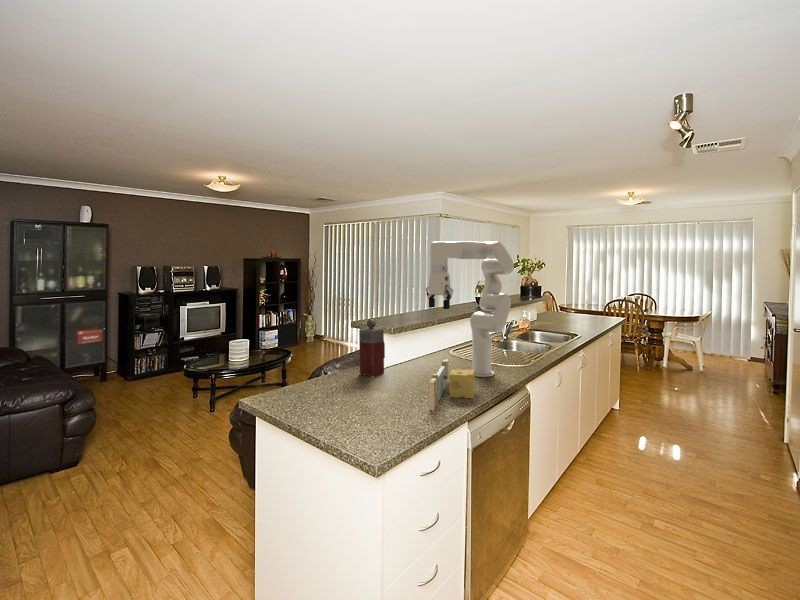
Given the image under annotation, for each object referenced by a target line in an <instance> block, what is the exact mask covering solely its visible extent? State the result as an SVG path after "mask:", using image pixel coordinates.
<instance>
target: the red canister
mask: <svg viewBox="0 0 800 600" xmlns="http://www.w3.org/2000/svg"><path fill="white" fill-rule="evenodd" d="M376 325H377V322H376V321H375V319H373V318H372V319H368V320H367V321H366V326H367V327H364V328H360V329H359V330H358V331H359V334H358V338H359V343H358V344H359V374H360V373H361V374H365V375H364V376H366V375H369V376H368V377H371V376H375V377H377V375H378V376H380V374H381V375H383V373H384V374H385V358H386V353H385V352H386V351H385V350H386V345H385V339H384V337H385V336H384V335H385V334H384V333H385V332H384V331H385V330H384V328H383V327H376Z"/></svg>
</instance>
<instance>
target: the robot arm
mask: <svg viewBox="0 0 800 600" xmlns="http://www.w3.org/2000/svg"><path fill="white" fill-rule="evenodd" d="M449 259H456V260H457V259H458V260H482V262H481V265H480V266H481V271H482V274H483V276H484V281H485V283H484V286H483V290H482V293H481V296H480V299H479V303H478V304H479V305H478V306H479V308H480V309H481V310H482V311H475V312H473V313H472V315H470V318H469V322H470V329H471V337H472V338H471V339H472V341H471V345H472V346H471V363H472V364H471V370H474V373H475V377H478V378H479V377H480V378H488V377H489V378H490V377H492V376H494V375H495V371H494V370H492V337H491V334H490V333H496V334H497V333H501V332H502V331H503V330H504V328H505V326H506V323H507V320H508V316H509V313H510V311H511V306H512V300H511V297H510V295H508V294H507V293H504V292H501V291H502V287H503V286H502V281H501V280H500V278H499V276H500V275H503V276H504V275H505V276H506V275H509V274H512V273H513V271H514V268H515V266H514V265H515V264H514V261H513V259H512V257H511V255H510V253H509V252H508V249H506V247H505V246H504V245H503V243H501V242H500V241H497V240H495V241H472V240H470V241H469V240H467V241H465V240H464V241H455V240H454V241H443V240H442V241H439V240H438V241H432V242H431V243H430V272H429V279H428V286H427V287H426V288H425V291H426V292H425V293H426V296H427V299H428V308H435V306H436V298H435V297H436V296H442V297H443V300H442V301H443V303H442V304H443V306H442V308H443V310H450V307H451V305H450V304H451V303H450V300H451V299H452V297H453V294H454V289H453V288H451V287H452V285H451V278H450V273H449V272H448V270H449V267H448V266H449V263H448V260H449ZM498 275H499V276H498Z"/></svg>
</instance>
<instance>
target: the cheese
mask: <svg viewBox="0 0 800 600" xmlns="http://www.w3.org/2000/svg"><path fill="white" fill-rule="evenodd" d="M475 381H476V376H475V373H474V370H472V369H451V371H450V374H449V377H448V385H449V391H448V392H449V398H451V397H454V399H461V398H463V399H468V398H471V399H470V400H474V399H475V387H476V386H475V385H476V382H475Z"/></svg>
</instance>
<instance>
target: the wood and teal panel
mask: <svg viewBox="0 0 800 600" xmlns="http://www.w3.org/2000/svg"><path fill="white" fill-rule="evenodd" d="M441 366H445V375H447V379H445V389H446V388H447V386H448V385H449V359H446V358H445V359H444V360H441ZM437 404H439V401H438V374H437V373H433V374H432V375H431V380H430V381H429V411H430V410H432V411H433V412H434V411H435V409H436V407H437V406H438V405H437ZM436 405H437V406H436ZM432 411H431V412H432Z"/></svg>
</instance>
